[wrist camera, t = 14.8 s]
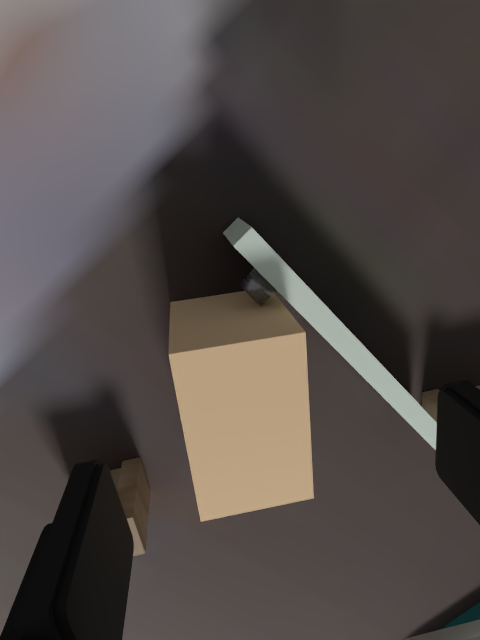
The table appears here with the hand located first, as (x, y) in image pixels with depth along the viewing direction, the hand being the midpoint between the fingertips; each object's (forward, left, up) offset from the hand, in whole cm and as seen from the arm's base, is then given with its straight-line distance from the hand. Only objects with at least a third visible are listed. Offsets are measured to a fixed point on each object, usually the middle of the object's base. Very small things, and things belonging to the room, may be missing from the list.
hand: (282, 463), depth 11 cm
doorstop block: (+1, +2, -10) cm, 11 cm away
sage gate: (-5, +1, -10) cm, 11 cm away
